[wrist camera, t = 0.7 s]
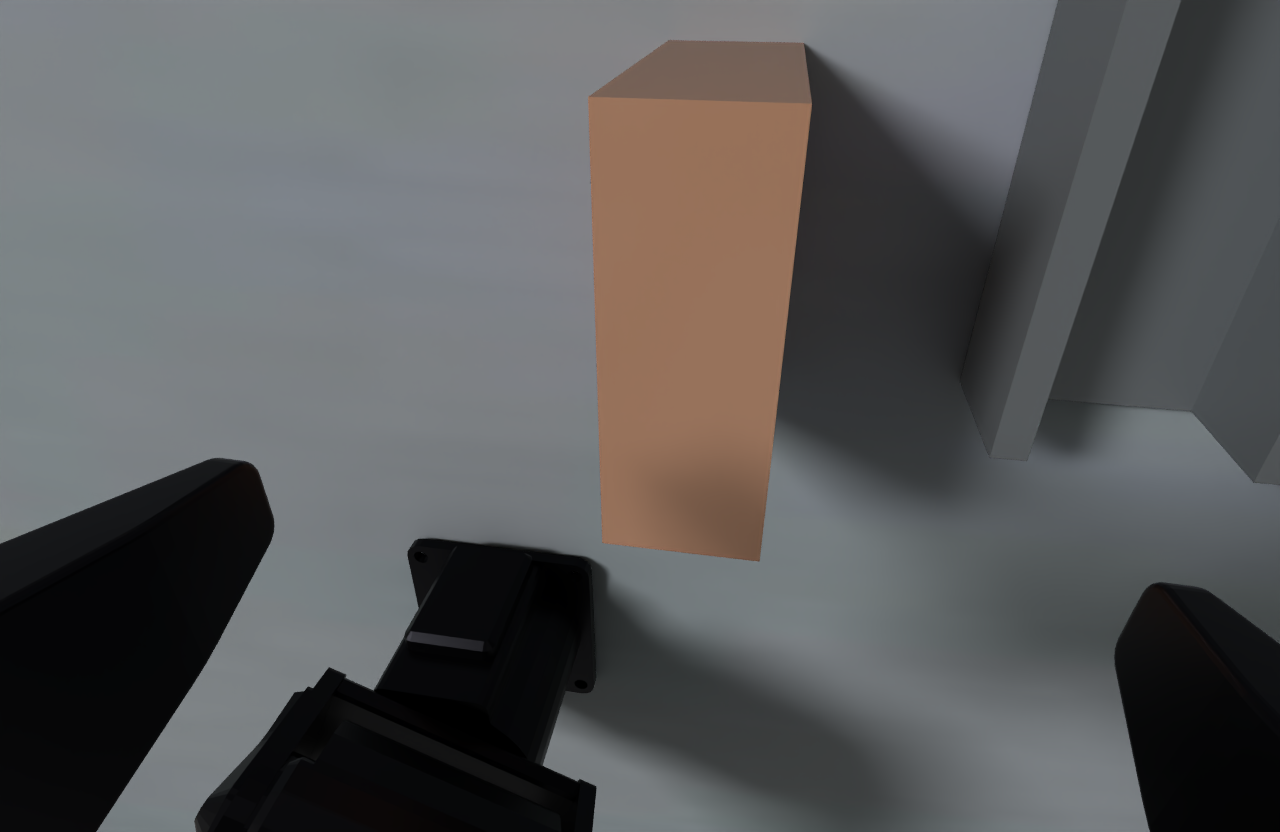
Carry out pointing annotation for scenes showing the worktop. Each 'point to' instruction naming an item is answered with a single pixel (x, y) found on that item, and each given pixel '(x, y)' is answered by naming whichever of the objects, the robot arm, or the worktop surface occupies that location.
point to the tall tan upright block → (694, 286)
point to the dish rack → (1142, 229)
